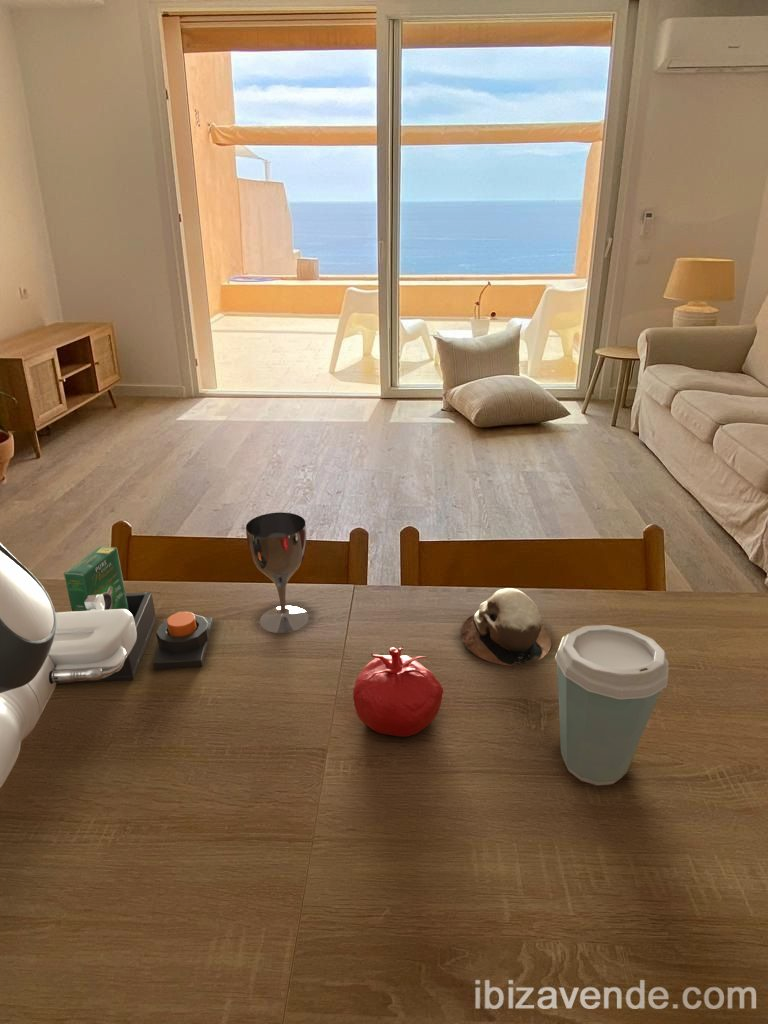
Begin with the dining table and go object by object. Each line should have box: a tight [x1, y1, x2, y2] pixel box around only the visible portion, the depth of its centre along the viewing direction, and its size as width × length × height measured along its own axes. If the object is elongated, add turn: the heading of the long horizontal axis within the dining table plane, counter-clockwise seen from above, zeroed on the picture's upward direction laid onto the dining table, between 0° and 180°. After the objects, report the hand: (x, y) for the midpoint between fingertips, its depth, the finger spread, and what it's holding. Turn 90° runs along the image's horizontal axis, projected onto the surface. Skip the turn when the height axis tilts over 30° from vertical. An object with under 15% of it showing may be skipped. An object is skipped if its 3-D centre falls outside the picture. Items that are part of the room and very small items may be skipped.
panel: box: [153, 614, 214, 671], centre depth 93 cm, size 6×10×3 cm, turn 5°
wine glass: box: [245, 511, 309, 634], centre depth 96 cm, size 8×8×15 cm
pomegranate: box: [352, 646, 444, 737], centre depth 78 cm, size 10×10×9 cm
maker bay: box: [56, 591, 157, 686], centre depth 92 cm, size 10×14×5 cm
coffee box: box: [63, 545, 129, 612], centre depth 89 cm, size 8×3×13 cm, turn 168°
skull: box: [460, 587, 552, 667], centre depth 93 cm, size 12×10×10 cm
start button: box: [166, 611, 197, 637], centre depth 92 cm, size 4×4×2 cm
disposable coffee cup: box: [554, 624, 670, 786], centre depth 70 cm, size 11×11×15 cm
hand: (52, 602), depth 75 cm, fingers open, 8 cm apart
